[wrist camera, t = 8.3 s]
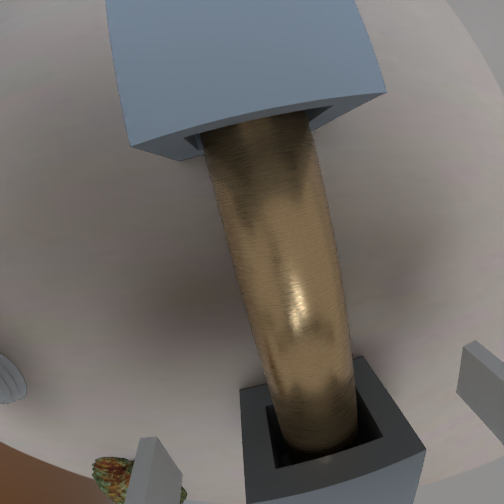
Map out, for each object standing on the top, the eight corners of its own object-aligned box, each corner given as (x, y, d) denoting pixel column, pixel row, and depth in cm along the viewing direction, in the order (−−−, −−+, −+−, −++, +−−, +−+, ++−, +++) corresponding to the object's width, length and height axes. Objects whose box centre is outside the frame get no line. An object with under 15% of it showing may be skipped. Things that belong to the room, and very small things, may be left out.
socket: (239, 390, 21) (246, 504, 11) (363, 356, 21) (426, 449, 11) (260, 446, 22) (273, 545, 13) (366, 416, 22) (412, 503, 13)
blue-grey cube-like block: (151, 41, 15) (101, -41, 7) (280, 13, 15) (313, -79, 7) (179, 161, 17) (130, 146, 8) (315, 128, 17) (386, 92, 8)
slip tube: (197, 112, 14) (184, 88, 10) (286, 92, 14) (307, 62, 10) (290, 453, 19) (300, 499, 15) (349, 436, 19) (368, 479, 15)
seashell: (75, 508, 19) (96, 472, 18) (83, 480, 23) (105, 437, 22) (166, 538, 22) (208, 508, 20) (167, 510, 26) (206, 474, 24)
